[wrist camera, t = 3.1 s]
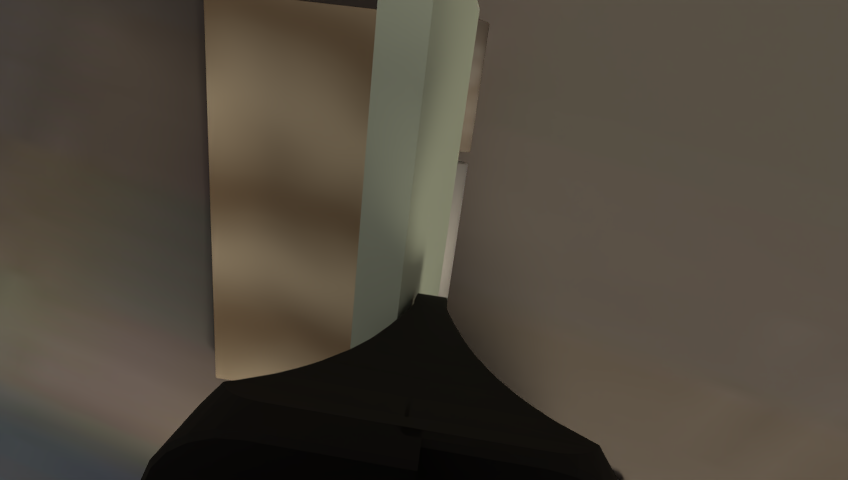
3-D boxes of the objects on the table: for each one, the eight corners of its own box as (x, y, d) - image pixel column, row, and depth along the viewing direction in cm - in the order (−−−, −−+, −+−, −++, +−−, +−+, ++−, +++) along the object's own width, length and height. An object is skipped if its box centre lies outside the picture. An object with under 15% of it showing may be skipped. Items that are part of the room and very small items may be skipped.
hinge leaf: (401, 404, 21) (431, 412, 21) (319, 619, 12) (371, 637, 12) (450, 19, 16) (491, 23, 16) (369, -118, 7) (465, -114, 7)
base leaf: (431, 398, 22) (427, 433, 20) (228, 364, 23) (199, 394, 20) (487, 28, 17) (491, 13, 14) (220, -3, 18) (179, -22, 15)
